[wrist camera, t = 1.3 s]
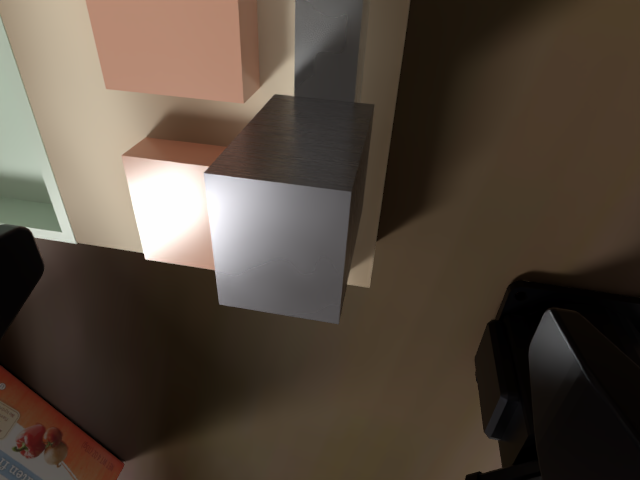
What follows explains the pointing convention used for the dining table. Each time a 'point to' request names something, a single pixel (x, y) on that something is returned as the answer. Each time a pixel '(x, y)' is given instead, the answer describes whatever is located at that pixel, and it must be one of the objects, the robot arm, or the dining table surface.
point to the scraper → (297, 176)
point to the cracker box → (45, 440)
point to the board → (174, 111)
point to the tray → (26, 160)
